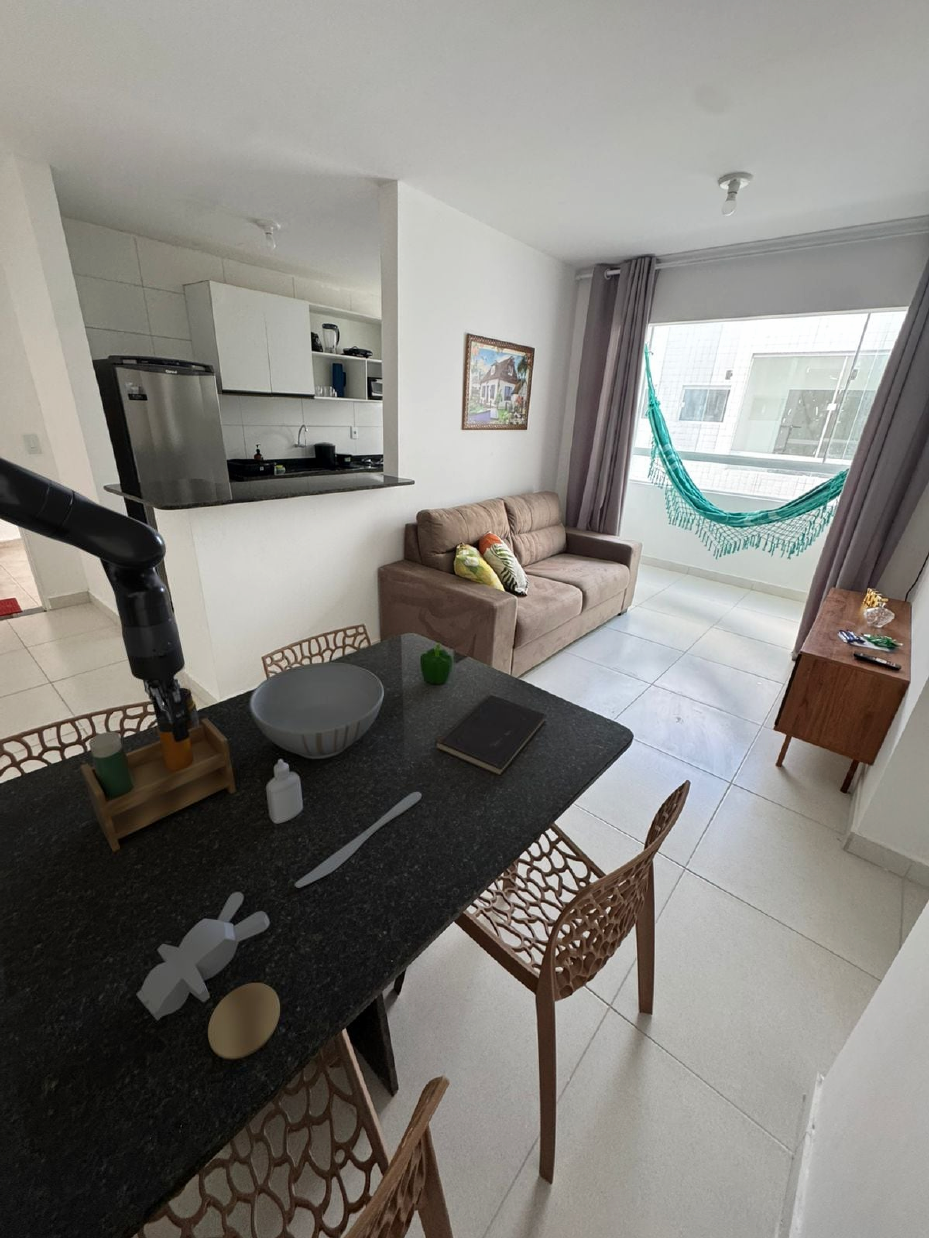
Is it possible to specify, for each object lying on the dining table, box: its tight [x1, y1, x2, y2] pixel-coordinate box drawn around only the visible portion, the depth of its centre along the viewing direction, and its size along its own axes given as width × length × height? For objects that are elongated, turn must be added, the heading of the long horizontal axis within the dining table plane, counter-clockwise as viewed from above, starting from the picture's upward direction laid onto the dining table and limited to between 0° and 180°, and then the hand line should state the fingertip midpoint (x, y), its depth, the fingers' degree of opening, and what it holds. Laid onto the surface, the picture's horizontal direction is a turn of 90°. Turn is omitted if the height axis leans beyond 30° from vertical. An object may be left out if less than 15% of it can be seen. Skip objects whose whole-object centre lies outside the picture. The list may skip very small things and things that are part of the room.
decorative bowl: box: [248, 661, 385, 760], centre depth 109 cm, size 27×27×12 cm
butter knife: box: [294, 791, 422, 889], centre depth 88 cm, size 1×27×3 cm
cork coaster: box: [207, 982, 281, 1060], centre depth 62 cm, size 8×8×1 cm
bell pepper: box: [419, 642, 453, 685], centre depth 135 cm, size 8×8×10 cm
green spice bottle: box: [88, 731, 134, 798], centre depth 82 cm, size 4×4×10 cm
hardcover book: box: [435, 693, 547, 778], centre depth 115 cm, size 16×23×2 cm
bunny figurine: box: [136, 891, 270, 1022], centre depth 66 cm, size 10×5×15 cm
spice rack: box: [80, 717, 237, 853], centre depth 90 cm, size 20×9×12 cm, turn 136°
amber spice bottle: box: [155, 712, 194, 771], centre depth 89 cm, size 4×4×10 cm
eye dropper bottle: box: [265, 758, 304, 825], centre depth 89 cm, size 4×6×12 cm
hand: (172, 728), depth 88 cm, fingers open, 8 cm apart
